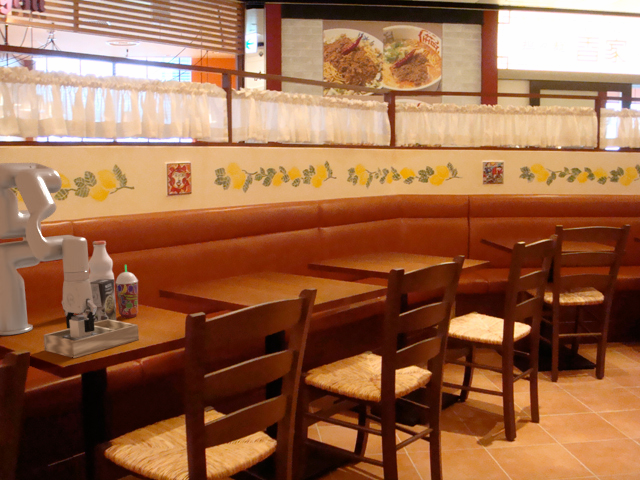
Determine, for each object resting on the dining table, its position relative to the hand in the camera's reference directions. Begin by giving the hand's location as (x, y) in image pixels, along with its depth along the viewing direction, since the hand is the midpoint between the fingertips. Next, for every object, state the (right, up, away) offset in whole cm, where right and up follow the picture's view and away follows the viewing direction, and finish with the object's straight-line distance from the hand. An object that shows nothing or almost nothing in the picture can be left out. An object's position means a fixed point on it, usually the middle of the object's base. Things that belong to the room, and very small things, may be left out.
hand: (80, 329), depth 211 cm
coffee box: (-3, -3, +31) cm, 32 cm away
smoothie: (+3, -1, +43) cm, 43 cm away
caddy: (+3, -5, +4) cm, 7 cm away
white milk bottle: (-10, 0, +54) cm, 55 cm away
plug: (0, -5, +1) cm, 5 cm away
